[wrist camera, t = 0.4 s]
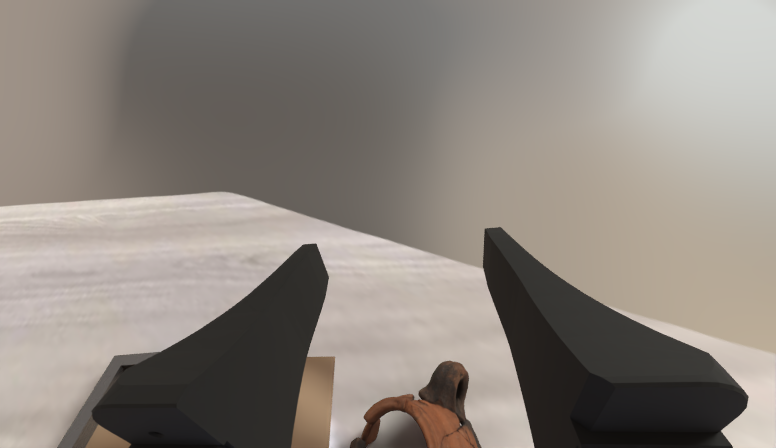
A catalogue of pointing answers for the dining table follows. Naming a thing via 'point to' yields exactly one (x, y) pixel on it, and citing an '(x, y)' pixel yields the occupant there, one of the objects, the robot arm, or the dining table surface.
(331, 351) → the dining table surface
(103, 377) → the curbs
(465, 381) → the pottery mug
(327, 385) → the brown flat board
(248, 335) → the robot arm
